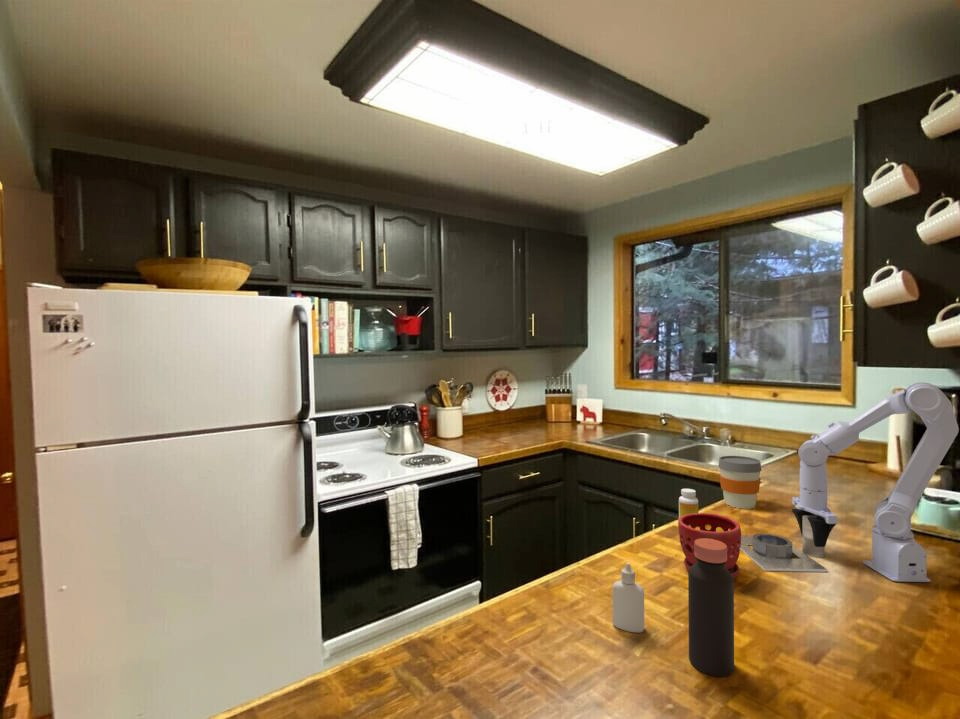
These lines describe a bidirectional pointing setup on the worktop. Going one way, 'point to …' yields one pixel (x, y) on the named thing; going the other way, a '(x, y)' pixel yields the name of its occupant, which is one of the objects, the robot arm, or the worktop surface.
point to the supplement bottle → (688, 502)
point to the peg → (810, 540)
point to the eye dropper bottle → (628, 602)
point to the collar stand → (777, 554)
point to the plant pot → (710, 536)
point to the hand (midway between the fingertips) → (813, 542)
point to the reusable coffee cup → (740, 480)
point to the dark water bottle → (711, 609)
